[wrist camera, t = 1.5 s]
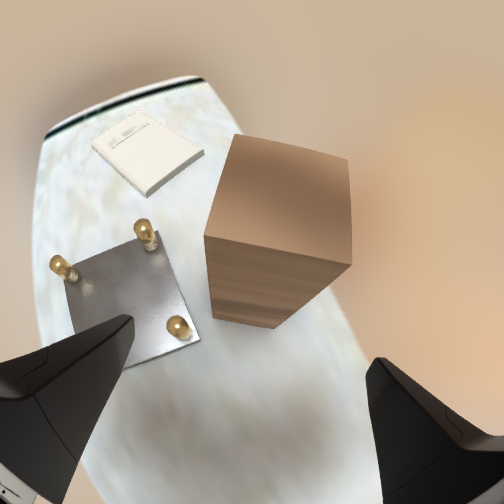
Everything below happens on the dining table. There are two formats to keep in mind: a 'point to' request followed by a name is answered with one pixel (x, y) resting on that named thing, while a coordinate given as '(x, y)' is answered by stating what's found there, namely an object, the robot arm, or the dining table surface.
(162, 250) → the plate
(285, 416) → the dining table surface
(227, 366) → the dining table surface
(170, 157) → the external hard drive
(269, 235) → the walnut post
